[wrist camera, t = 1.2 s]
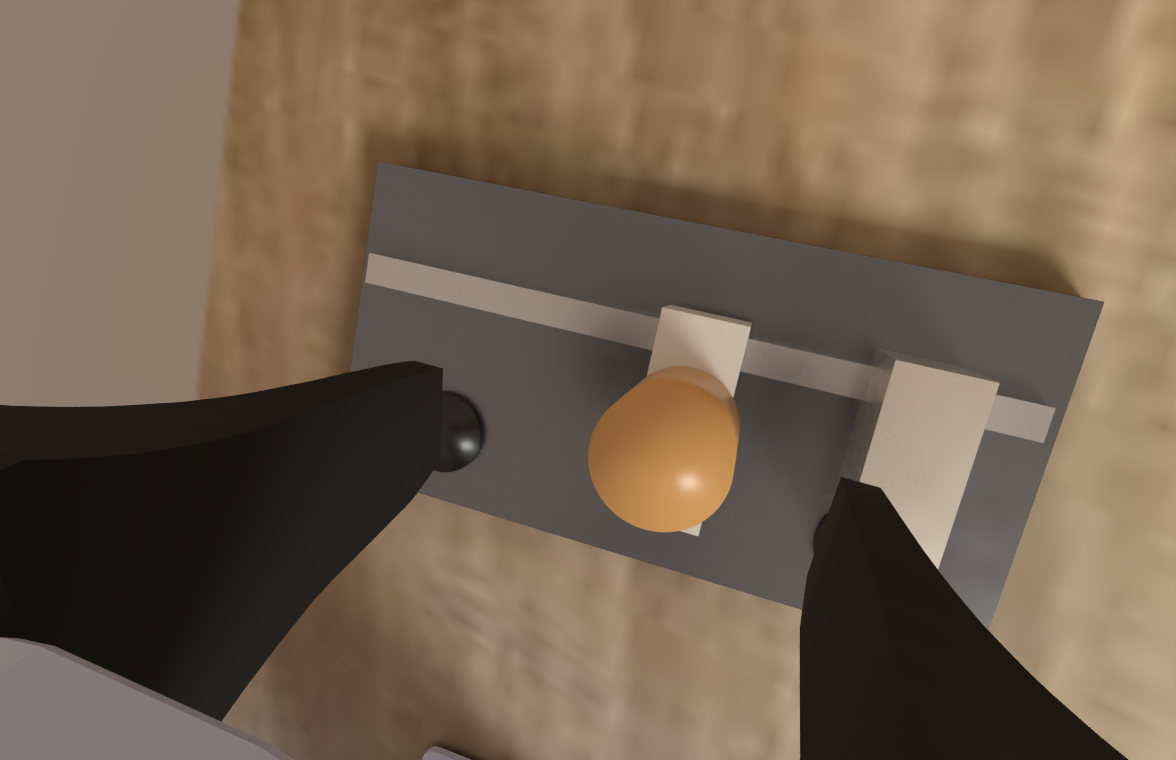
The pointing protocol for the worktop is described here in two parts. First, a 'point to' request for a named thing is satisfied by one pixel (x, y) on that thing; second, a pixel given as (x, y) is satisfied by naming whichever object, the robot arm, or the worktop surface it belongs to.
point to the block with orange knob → (674, 426)
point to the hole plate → (764, 388)
